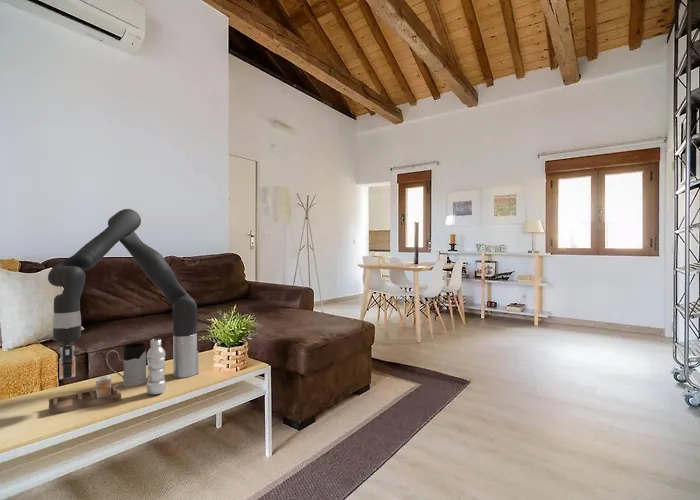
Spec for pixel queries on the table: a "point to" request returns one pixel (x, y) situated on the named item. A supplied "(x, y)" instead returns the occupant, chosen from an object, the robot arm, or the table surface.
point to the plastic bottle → (156, 368)
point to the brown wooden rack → (86, 397)
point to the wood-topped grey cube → (62, 368)
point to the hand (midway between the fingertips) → (67, 375)
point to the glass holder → (133, 364)
